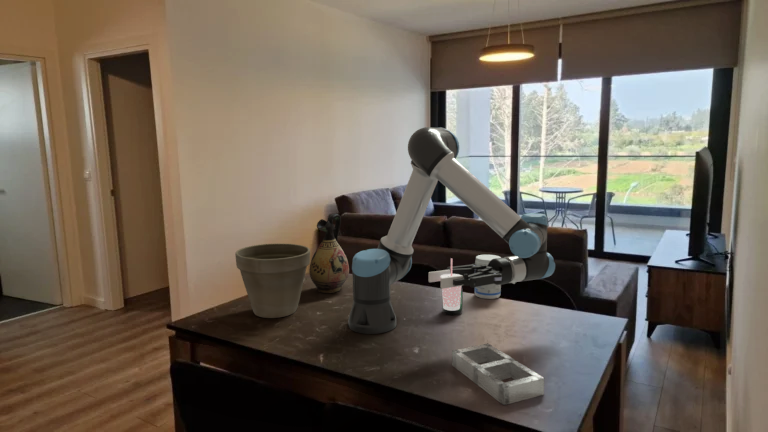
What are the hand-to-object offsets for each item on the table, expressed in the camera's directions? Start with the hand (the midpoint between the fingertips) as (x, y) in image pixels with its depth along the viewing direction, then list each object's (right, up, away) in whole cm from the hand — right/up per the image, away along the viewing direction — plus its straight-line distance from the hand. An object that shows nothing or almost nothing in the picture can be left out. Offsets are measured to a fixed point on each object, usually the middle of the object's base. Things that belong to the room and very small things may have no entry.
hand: (435, 280), depth 137 cm
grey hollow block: (+13, -22, -14) cm, 29 cm away
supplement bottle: (+9, -15, +34) cm, 39 cm away
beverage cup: (+5, -8, +3) cm, 10 cm away
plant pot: (-51, -16, +38) cm, 66 cm away
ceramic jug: (-35, -12, +63) cm, 73 cm away
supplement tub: (+25, -12, +51) cm, 58 cm away
